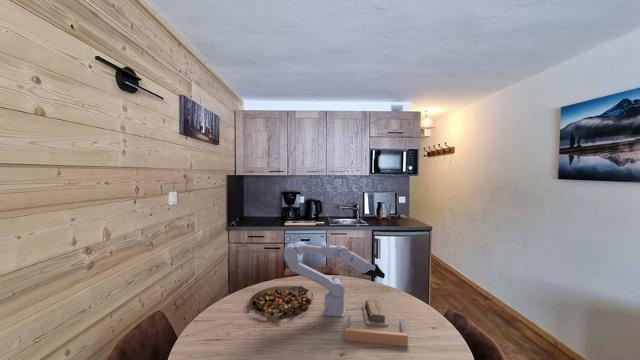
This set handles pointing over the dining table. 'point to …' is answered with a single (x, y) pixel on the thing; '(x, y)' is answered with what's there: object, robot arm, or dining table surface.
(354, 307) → the dining table surface
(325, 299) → the robot arm
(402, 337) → the channel
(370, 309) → the packaged product
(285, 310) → the food dish
